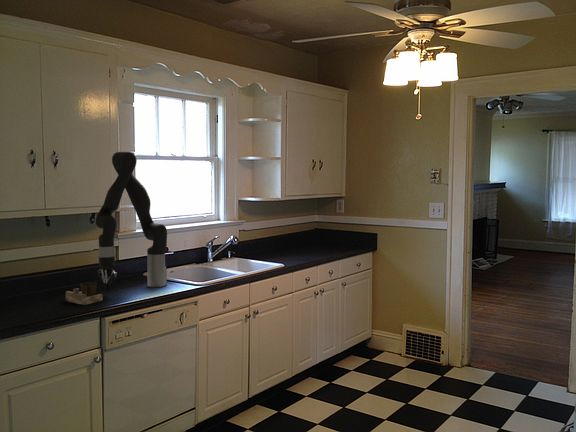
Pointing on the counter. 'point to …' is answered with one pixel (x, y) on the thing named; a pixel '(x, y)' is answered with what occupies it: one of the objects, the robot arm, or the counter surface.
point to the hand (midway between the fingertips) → (107, 290)
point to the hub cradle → (82, 297)
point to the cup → (89, 288)
